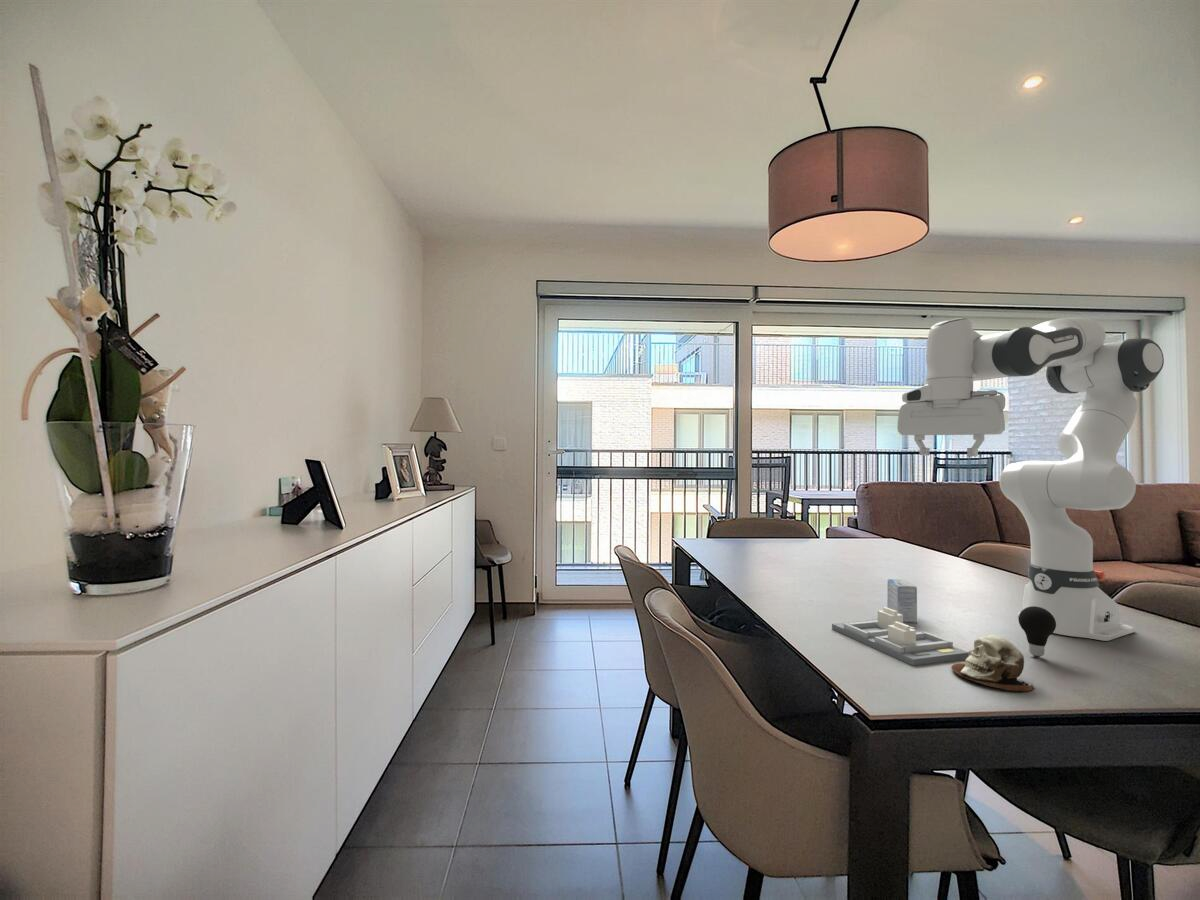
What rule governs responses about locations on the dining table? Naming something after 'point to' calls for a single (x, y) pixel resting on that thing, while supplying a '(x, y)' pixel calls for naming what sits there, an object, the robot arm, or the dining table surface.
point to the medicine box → (903, 599)
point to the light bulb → (1037, 628)
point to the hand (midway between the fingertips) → (947, 455)
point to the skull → (994, 664)
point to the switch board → (915, 654)
